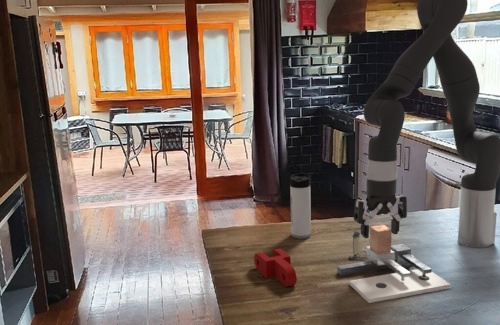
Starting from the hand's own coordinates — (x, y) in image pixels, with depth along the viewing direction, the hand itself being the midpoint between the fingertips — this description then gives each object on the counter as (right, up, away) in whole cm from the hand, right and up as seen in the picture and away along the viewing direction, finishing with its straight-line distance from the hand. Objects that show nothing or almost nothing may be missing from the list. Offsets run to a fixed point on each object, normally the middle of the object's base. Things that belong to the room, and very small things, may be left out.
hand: (379, 235), depth 131 cm
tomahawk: (-1, -6, +17) cm, 18 cm away
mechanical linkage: (-27, -11, 0) cm, 29 cm away
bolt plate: (+3, -11, -9) cm, 14 cm away
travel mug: (-18, -4, +28) cm, 33 cm away
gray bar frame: (+1, -10, -3) cm, 11 cm away
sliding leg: (+2, -9, -3) cm, 9 cm away
